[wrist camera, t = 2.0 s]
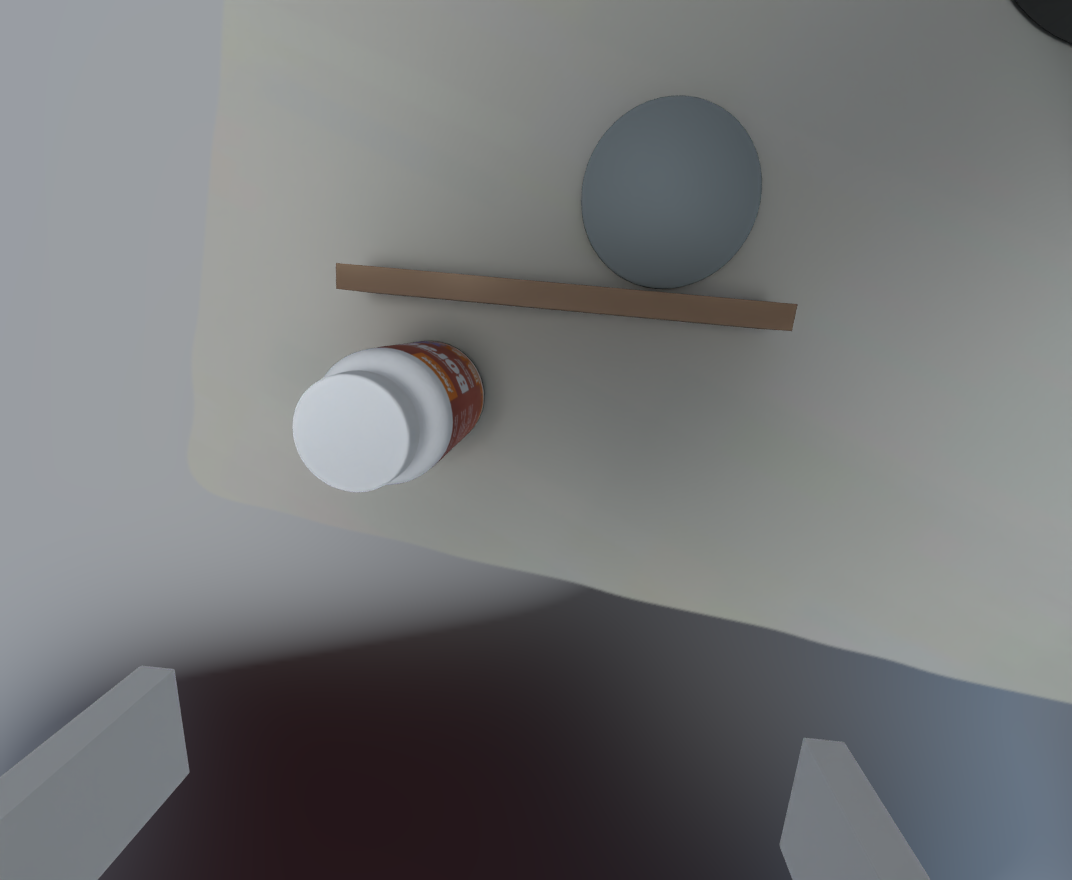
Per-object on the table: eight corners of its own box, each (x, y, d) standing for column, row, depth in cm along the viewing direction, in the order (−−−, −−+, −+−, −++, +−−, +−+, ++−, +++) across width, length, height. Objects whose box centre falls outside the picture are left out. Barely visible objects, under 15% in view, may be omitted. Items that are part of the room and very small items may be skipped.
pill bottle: (502, 368, 29) (455, 398, 18) (462, 459, 30) (396, 537, 20) (405, 321, 29) (299, 324, 18) (370, 415, 30) (253, 469, 19)
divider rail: (369, 270, 28) (336, 263, 24) (766, 306, 27) (797, 304, 23) (369, 292, 28) (336, 288, 24) (761, 328, 27) (791, 330, 23)
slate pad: (592, 95, 25) (592, 89, 24) (774, 106, 24) (779, 101, 24) (572, 281, 27) (572, 280, 27) (739, 295, 27) (742, 295, 26)
